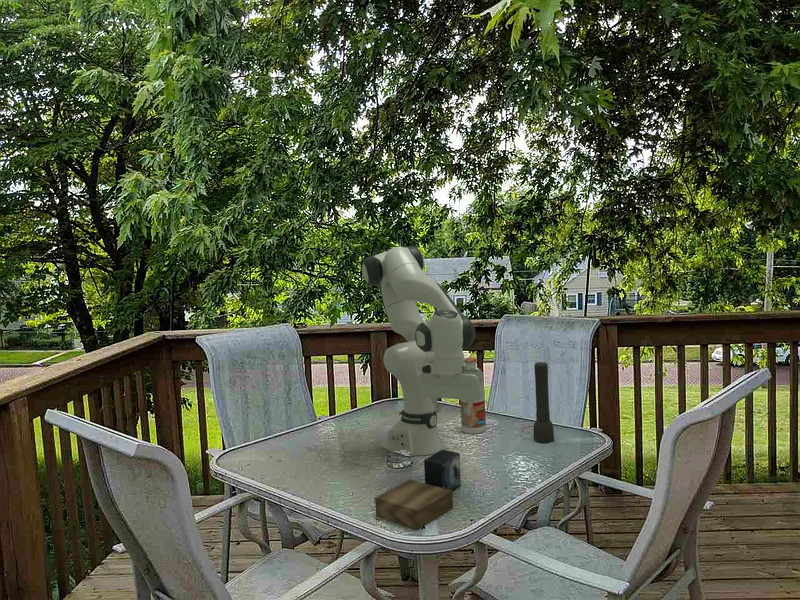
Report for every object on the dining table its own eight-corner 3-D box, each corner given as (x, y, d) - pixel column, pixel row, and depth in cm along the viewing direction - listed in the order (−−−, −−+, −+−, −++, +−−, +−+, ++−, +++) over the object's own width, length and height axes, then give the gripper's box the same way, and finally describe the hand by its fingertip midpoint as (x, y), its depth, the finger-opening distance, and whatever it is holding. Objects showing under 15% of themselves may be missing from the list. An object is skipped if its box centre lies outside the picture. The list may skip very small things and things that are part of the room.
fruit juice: (463, 426, 243) (460, 356, 241) (487, 426, 241) (484, 356, 238) (459, 433, 234) (455, 361, 232) (484, 434, 232) (480, 361, 229)
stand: (376, 515, 168) (374, 497, 168) (411, 496, 180) (410, 479, 179) (418, 529, 159) (417, 510, 158) (453, 508, 170) (452, 490, 170)
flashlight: (556, 442, 218) (551, 436, 225) (553, 364, 215) (548, 360, 222) (536, 443, 218) (531, 437, 225) (533, 365, 215) (528, 361, 222)
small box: (443, 499, 176) (441, 463, 175) (424, 494, 180) (422, 459, 179) (462, 486, 185) (460, 452, 184) (444, 482, 189) (442, 448, 188)
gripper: (487, 365, 176) (490, 413, 177) (424, 363, 187) (428, 408, 188) (477, 369, 171) (480, 418, 172) (414, 367, 182) (417, 413, 183)
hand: (452, 413), depth 180 cm, fingers open, 8 cm apart
